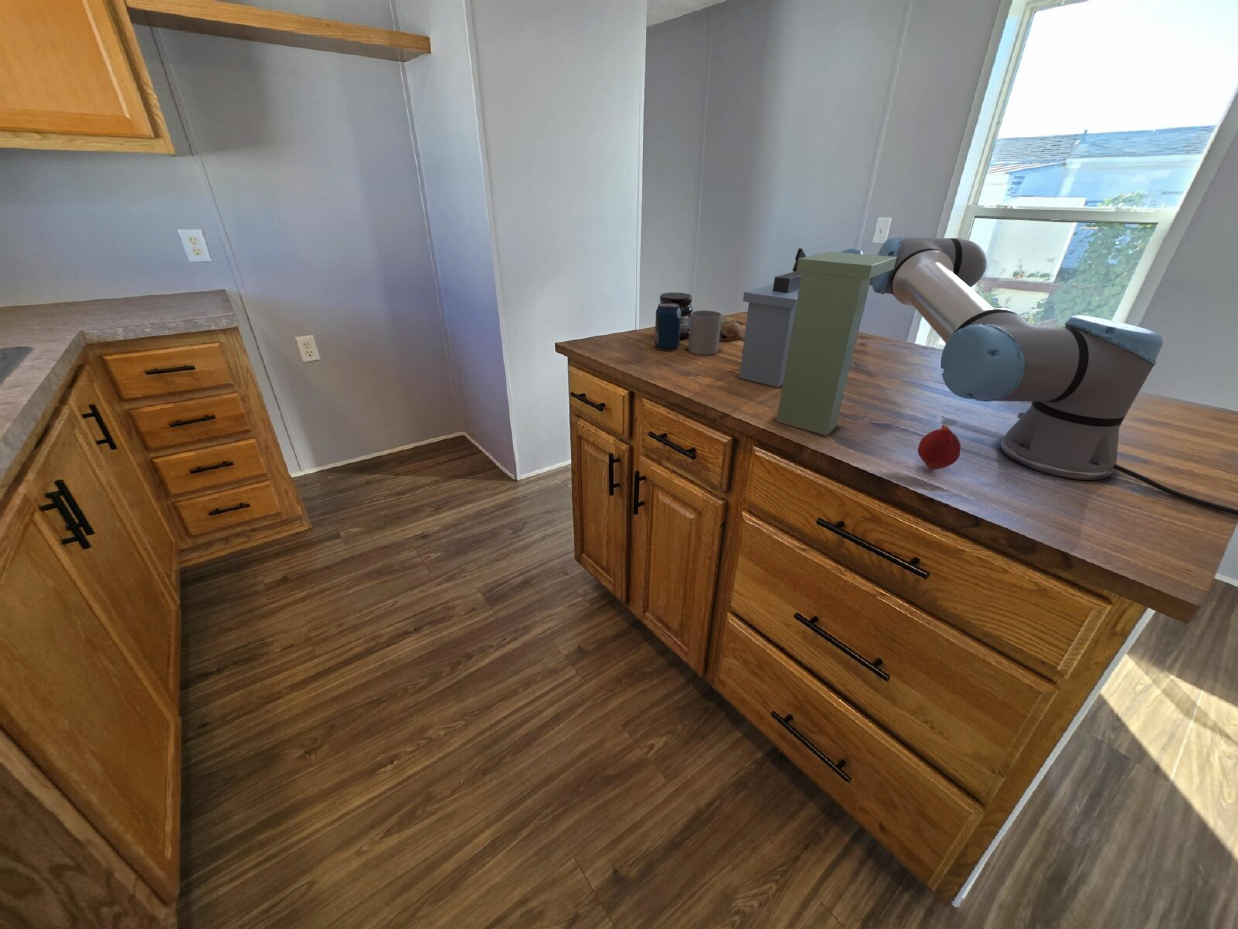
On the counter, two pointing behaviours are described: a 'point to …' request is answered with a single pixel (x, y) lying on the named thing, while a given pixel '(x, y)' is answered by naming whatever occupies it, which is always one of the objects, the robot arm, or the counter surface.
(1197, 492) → the counter surface
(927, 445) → the onion
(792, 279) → the black bar
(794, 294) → the grey lidded box
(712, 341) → the cup
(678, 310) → the soda can
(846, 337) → the green capped pedestal
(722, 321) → the bread roll
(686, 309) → the supplement container
